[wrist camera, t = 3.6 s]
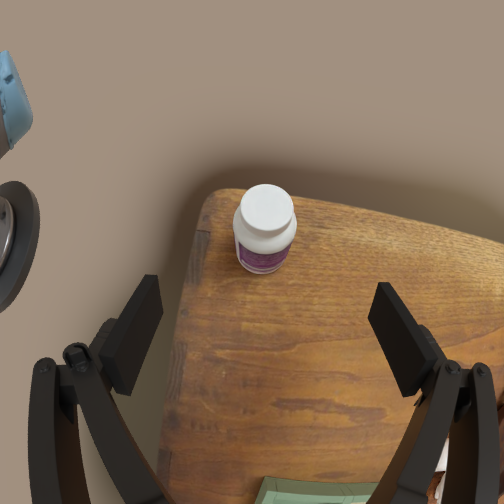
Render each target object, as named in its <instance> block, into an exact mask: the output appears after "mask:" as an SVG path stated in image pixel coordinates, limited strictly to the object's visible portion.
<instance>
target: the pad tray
mask: <svg viewBox="0 0 504 504" xmlns="http://www.w3.org/2000/svg"><path fill="white" fill-rule="evenodd" d="M378 484H379V482H376V483H323V482H308V481H298V480H289V479H281V478H274V477H267V476H265V477H264V480H263V483H262V485H261V488H260V491H259V493H258V496H257V498H256V501H255V503H254V504H365V503H366V502H367V501H368V500H369V498H370V497H371V495H372V493H373V492H374V490H375V489H376V487H377V485H378Z"/></svg>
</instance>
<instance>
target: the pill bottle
mask: <svg viewBox="0 0 504 504" xmlns="http://www.w3.org/2000/svg"><path fill="white" fill-rule="evenodd" d="M296 228H297V221H296V217H295V214H294V212H293V202H292V200H291V198H290V196H289V195H288V194H287V193H286V192H285V191H284V190H283V189H281V188H279V187H277V186H274V185H269V184H262V185H258V186H255V187H252V188H251V189H249V190H248V191H247V192H246V193H245V194H244V196H243V198H242V200H241V203H240V206H239V207H238V208H237V210H236V212H235V215H234V218H233V231H234V240H235V247H236V253H237V257H238V260H239V262H240V263H241V264H242V266H243V267H244V268H246V269H247V270H248V271H250V272H253V273H256V274H268V273H271V272H273V271H275V270H277V269H278V268H279V267H280V266H281V265H282V264H283V263H284V261H285V259H286V256H287V254H288V251H289V249H290V246H291V244H292V242H293V239H294V236H295V233H296Z"/></svg>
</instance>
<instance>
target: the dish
mask: <svg viewBox="0 0 504 504" xmlns="http://www.w3.org/2000/svg"><path fill="white" fill-rule="evenodd" d="M497 413H498V423H499V438H500V480H499V494H498V499H499V498H500V497H501V496H502V495H503V494H504V405H503V406H502V408H501V409H500V410H499V411H498V412H497Z"/></svg>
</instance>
